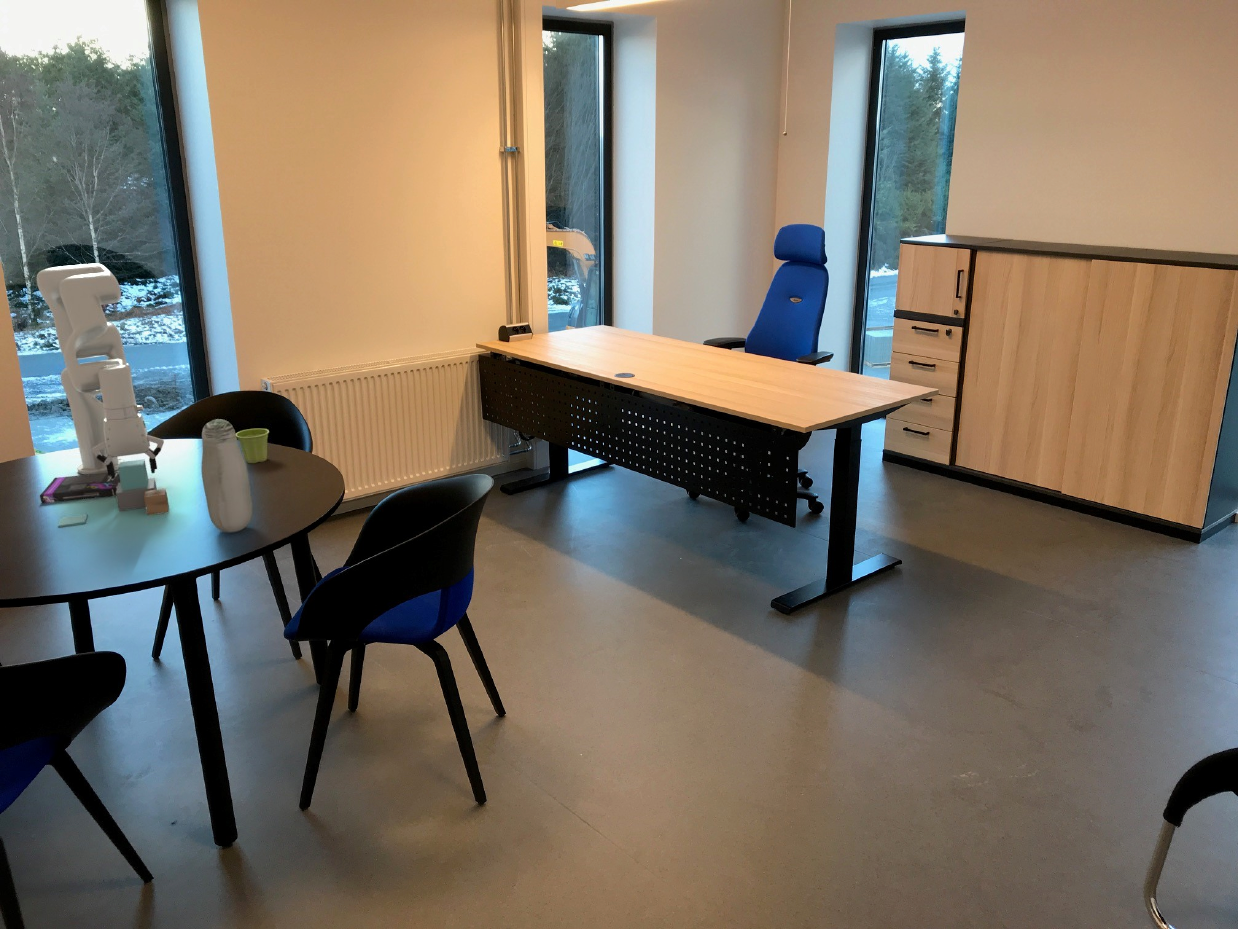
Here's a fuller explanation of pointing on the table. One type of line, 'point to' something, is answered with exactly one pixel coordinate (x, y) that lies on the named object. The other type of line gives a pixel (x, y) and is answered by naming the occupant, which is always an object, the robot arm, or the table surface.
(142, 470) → the teal cube
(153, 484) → the grey square block
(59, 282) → the robot arm
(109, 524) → the table surface
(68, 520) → the tile
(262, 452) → the plant pot
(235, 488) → the white bottle
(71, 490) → the box
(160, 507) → the walnut cube
